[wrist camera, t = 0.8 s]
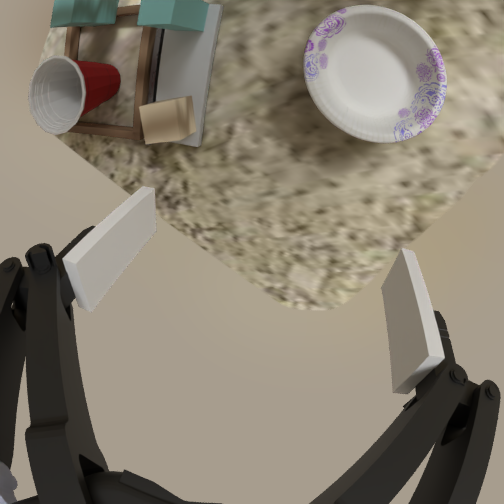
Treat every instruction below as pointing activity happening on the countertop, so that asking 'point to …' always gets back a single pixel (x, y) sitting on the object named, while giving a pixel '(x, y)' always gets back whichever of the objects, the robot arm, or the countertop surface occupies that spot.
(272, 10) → the countertop surface
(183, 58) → the sled
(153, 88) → the divider rail
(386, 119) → the paper bowls
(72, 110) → the plastic cup
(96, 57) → the countertop surface
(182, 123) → the beech cube
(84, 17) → the frame
